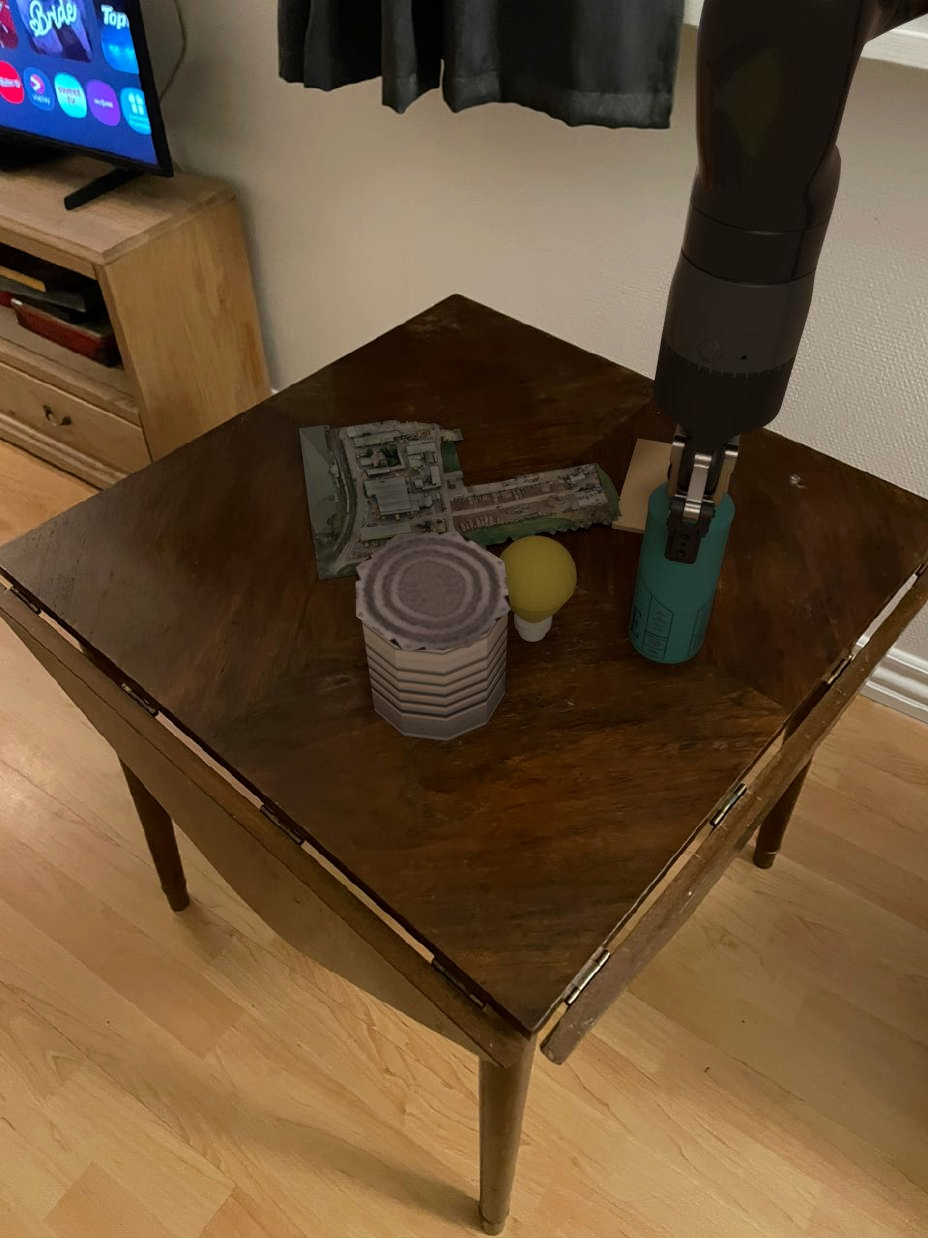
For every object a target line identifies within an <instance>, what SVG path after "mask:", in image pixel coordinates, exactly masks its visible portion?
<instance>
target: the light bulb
mask: <svg viewBox="0 0 928 1238" xmlns="http://www.w3.org/2000/svg"><path fill="white" fill-rule="evenodd" d="M498 558H499V559H501V560H502V561H504V565H505V572H506V579H507V586H508V594H509V601H510V608H511V609H510V611H512V613H513V614H514V615H513V616H514V617H513V625H514V627H515V629H516V631H518V634H519V637H520V638H521V639H523V640H524V641H526V642H539V641H541V640H543V639H544V637H545V636H546V634H547V633H548V632H549V631H550V630H551V627H552V624H553V615H554V614H556V613H557V612H558V611H559V610H560V609H561V608H562V607H563V606H564V604H566V603H567V602H568V600H570V599H571V597H572V596H573V595H574V592H575V589H576V587H577V582H578V578H577V576H578V575H577V567H576V563H575V561H574V559H573V557H572V555H571V554H570V551H568V549H567V548H566V547H565V546H564V545H563V544H561V543H560V542H559V541H557V540H555V539H553V538H551V537H547V536H543V535H536V536H528V537H524V538H521V539H519V540H517V541H513V542H511V544H510V545H508V546H507V547H506V548H504V550H503V551H502V552H501V553H500V555H499V557H498Z"/></svg>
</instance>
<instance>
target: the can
mask: <svg viewBox="0 0 928 1238" xmlns="http://www.w3.org/2000/svg"><path fill="white" fill-rule="evenodd" d="M499 558H500V557H498V556H496V555H495V554H493V553H491V552H490V551H488V549H487V550H485V549H484V548H482V547H481V546H479V545H478V544H476V543H475V542H473V541H471V540H470V539H468V538H467V537H465V536H464V535H462V534H461V533H459V532H434V533H408V534H397V535H396V536H395V537H393V538H392V539H391V540H390V541H388V542H387V543H386V544H385V545H383V546H382V547H381V548H380V549H378V550H377V551H376V552H375V553H373V554H372V555H371V556H370V557H368V558H367V559H366V560H365V561H363V562H362V563H361V564H360V565H358V566H357V567H356V574H355V616H356V617H357V618H358V619H360V620H361V623H362V630H363V637H364V638H363V639H364V644H365V651H366V652H365V653H366V658H367V665H368V666H367V667H368V673H369V679H370V680H369V681H370V686H371V695H372V702H373V709H374V712H375V713H376V714H377V715H379V716H380V717H381V718H382V719H383V720H385V721H386V722H387V723H388V724H389V725H390V726H391V727H393V728H394V729H395V730H396V731H398V732H399V733H400V734H401V735H402V736H404V737H411V738H419V739H427V740H436V741H443V742H449V741H451V740H453V739H456V738H458V737H460V736H463V735H465V734H468V733H470V732H472V731H475V730H477V729H479V728H481V727H483V726H487V725H488V723H489V721H490V720H491V717H492V716H493V714H494V713H495V711H496V709H497V708H498V707H499V705H500V703H501V701H502V699H503V698H504V697H505V695H506V683H507V682H506V677H507V651H508V650H507V646H508V619H509V618H508V617H509V614H508V613H509V612H510V611H511V608H510V601H509V594H508V586H507V579H506V572H505V565H504V561H502V560H501V559H499Z"/></svg>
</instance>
